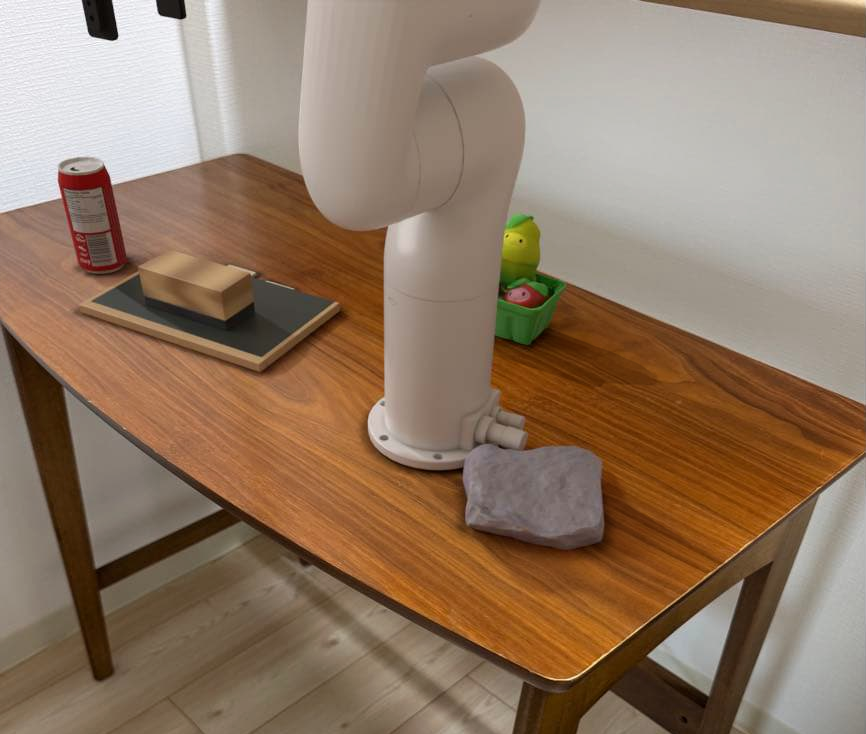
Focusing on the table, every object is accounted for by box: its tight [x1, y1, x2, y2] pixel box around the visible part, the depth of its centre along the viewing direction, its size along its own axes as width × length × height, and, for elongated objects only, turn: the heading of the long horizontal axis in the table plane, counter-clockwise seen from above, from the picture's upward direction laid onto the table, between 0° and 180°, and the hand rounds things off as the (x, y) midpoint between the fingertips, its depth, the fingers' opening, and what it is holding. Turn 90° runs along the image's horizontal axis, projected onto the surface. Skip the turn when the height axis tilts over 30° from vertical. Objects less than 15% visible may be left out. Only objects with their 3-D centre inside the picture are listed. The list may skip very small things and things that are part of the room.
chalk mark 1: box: [226, 264, 257, 278], centre depth 107 cm, size 4×1×1 cm, turn 61°
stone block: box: [462, 444, 605, 551], centre depth 75 cm, size 12×5×10 cm
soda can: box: [57, 156, 128, 275], centre depth 103 cm, size 6×6×12 cm
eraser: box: [137, 248, 255, 331], centre depth 97 cm, size 11×5×4 cm, turn 62°
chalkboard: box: [78, 270, 341, 373], centre depth 99 cm, size 24×15×1 cm, turn 62°
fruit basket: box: [494, 213, 567, 346], centre depth 96 cm, size 11×9×11 cm
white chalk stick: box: [265, 280, 296, 290], centre depth 104 cm, size 4×1×1 cm, turn 62°
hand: (139, 27), depth 87 cm, fingers open, 9 cm apart
